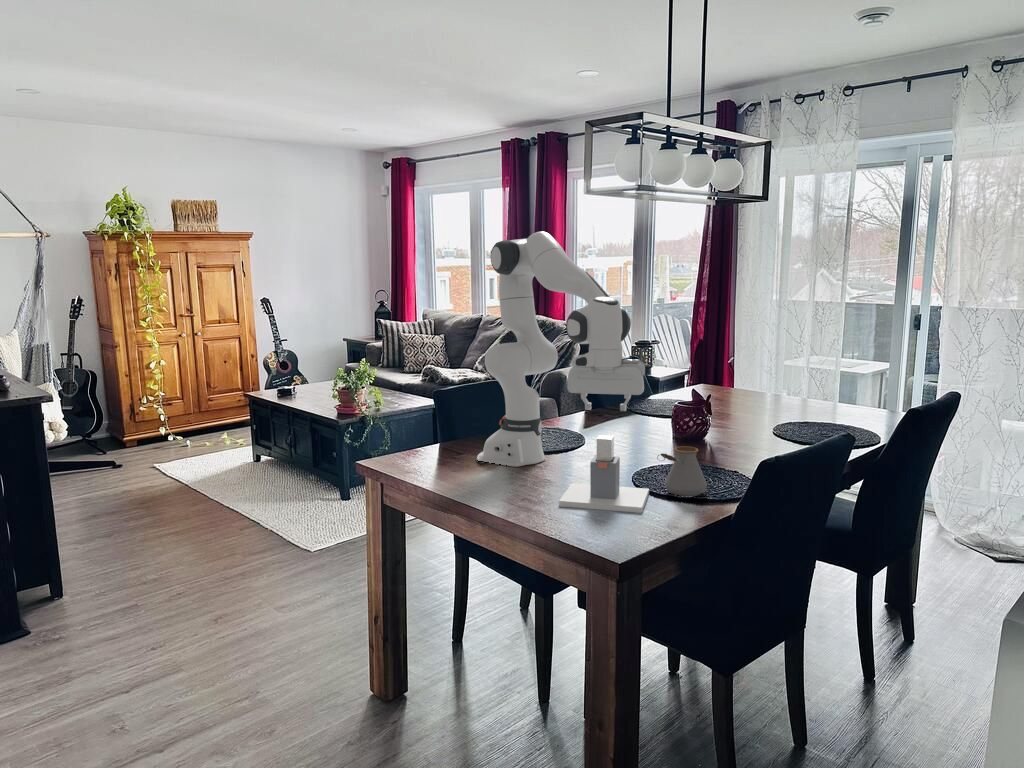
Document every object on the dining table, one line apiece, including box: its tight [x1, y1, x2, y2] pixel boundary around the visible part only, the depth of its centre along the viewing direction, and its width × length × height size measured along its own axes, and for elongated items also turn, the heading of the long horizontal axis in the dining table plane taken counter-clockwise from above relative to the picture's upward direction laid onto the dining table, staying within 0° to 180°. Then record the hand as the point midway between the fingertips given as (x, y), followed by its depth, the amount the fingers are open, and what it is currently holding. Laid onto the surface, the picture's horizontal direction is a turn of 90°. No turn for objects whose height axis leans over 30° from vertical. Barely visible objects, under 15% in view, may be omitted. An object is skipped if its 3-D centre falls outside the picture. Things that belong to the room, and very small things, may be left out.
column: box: [596, 434, 615, 462], centre depth 199 cm, size 4×4×16 cm
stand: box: [558, 454, 650, 514], centre depth 200 cm, size 22×16×12 cm
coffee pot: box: [656, 445, 708, 496], centre depth 200 cm, size 21×12×15 cm, turn 142°
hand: (605, 410), depth 196 cm, fingers open, 8 cm apart
